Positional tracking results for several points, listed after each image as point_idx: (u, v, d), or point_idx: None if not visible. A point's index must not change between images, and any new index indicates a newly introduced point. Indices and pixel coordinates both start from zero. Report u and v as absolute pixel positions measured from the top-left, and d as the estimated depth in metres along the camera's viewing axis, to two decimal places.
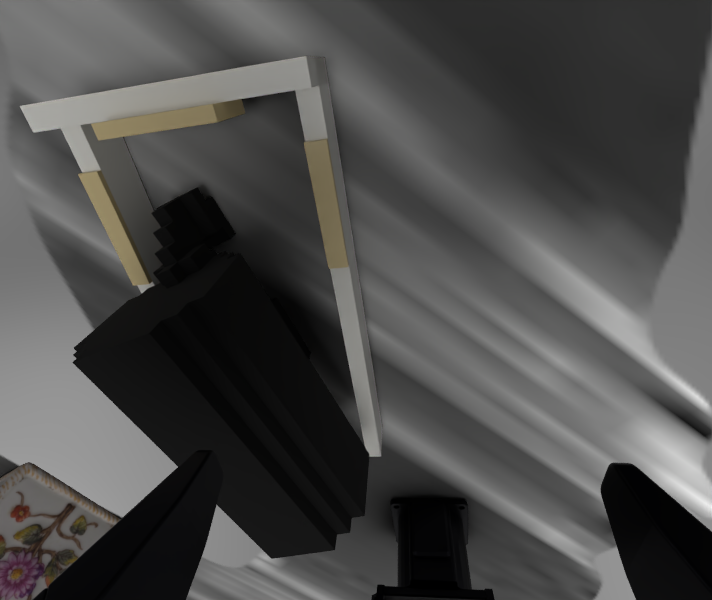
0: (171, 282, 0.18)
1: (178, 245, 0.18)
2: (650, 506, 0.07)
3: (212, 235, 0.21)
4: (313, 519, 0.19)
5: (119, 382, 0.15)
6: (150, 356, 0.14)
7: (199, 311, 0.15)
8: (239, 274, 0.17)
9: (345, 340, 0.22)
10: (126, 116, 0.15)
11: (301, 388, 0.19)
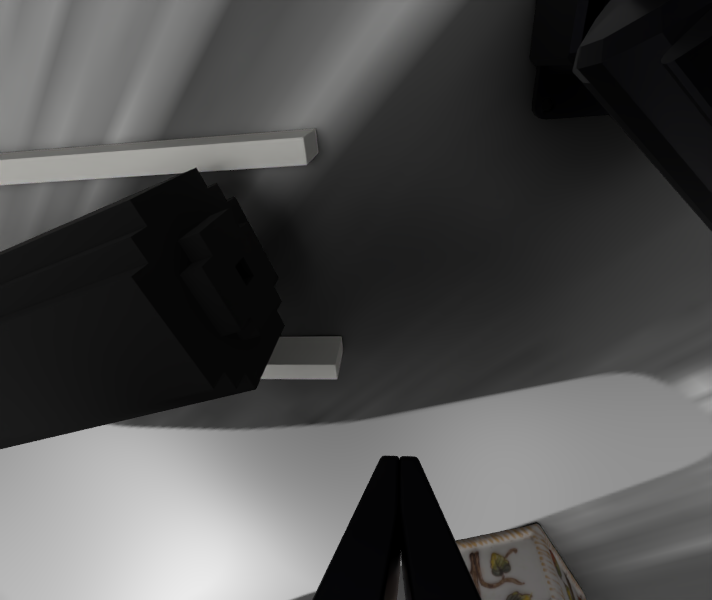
0: None
1: None
2: (406, 495, 0.08)
3: None
4: (64, 298, 0.10)
5: None
6: None
7: None
8: None
9: (68, 178, 0.16)
10: None
11: None
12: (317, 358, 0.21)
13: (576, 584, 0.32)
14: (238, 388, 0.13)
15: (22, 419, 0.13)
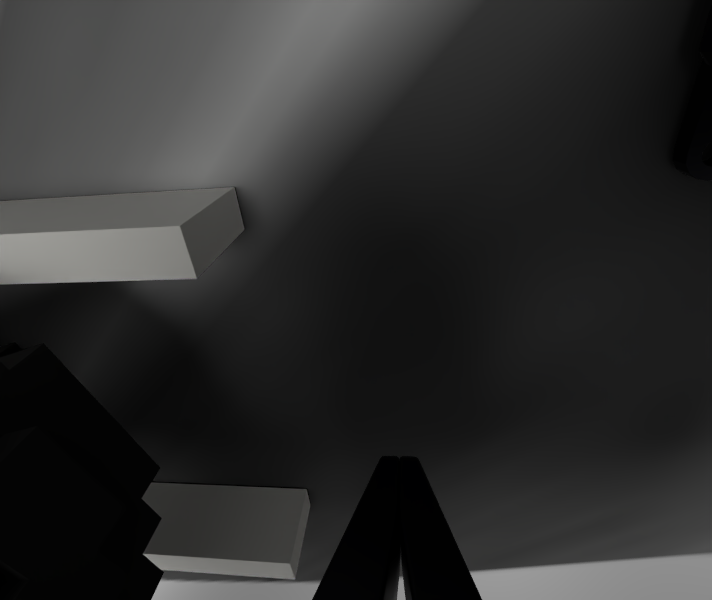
0: None
1: None
2: (406, 495, 0.08)
3: None
4: None
5: None
6: None
7: None
8: None
9: None
10: None
11: None
12: (262, 544, 0.13)
13: None
14: None
15: None
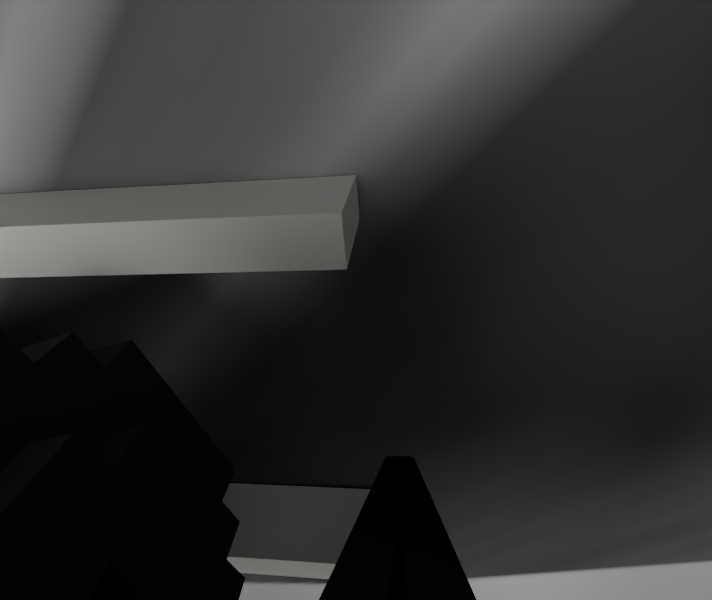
0: None
1: None
2: (402, 495, 0.08)
3: None
4: None
5: None
6: None
7: None
8: None
9: None
10: None
11: None
12: (343, 546, 0.12)
13: None
14: None
15: None
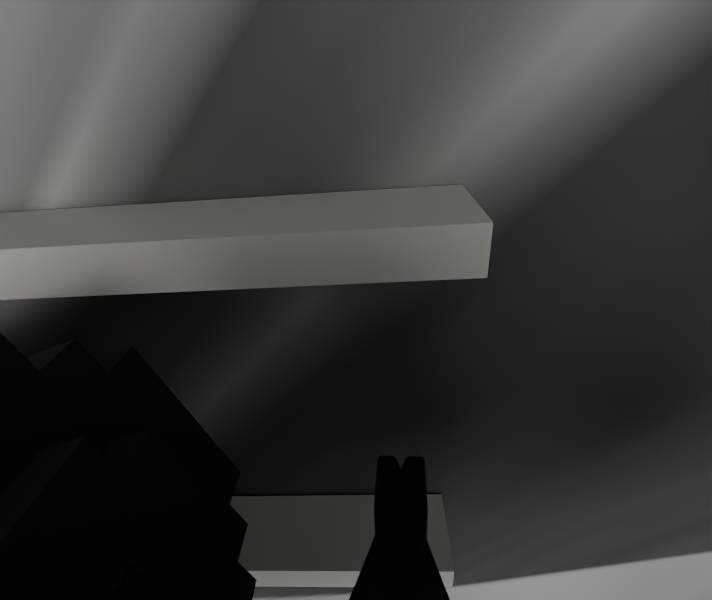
0: None
1: None
2: (381, 494, 0.08)
3: None
4: None
5: None
6: None
7: None
8: None
9: None
10: None
11: None
12: None
13: None
14: None
15: None
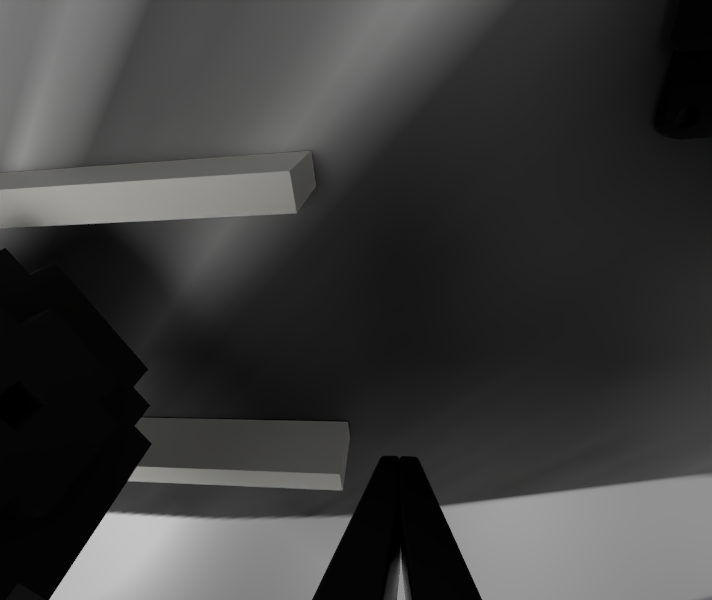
0: None
1: None
2: (406, 495, 0.08)
3: None
4: None
5: None
6: None
7: None
8: None
9: None
10: None
11: None
12: (315, 461, 0.15)
13: None
14: (20, 598, 0.08)
15: None
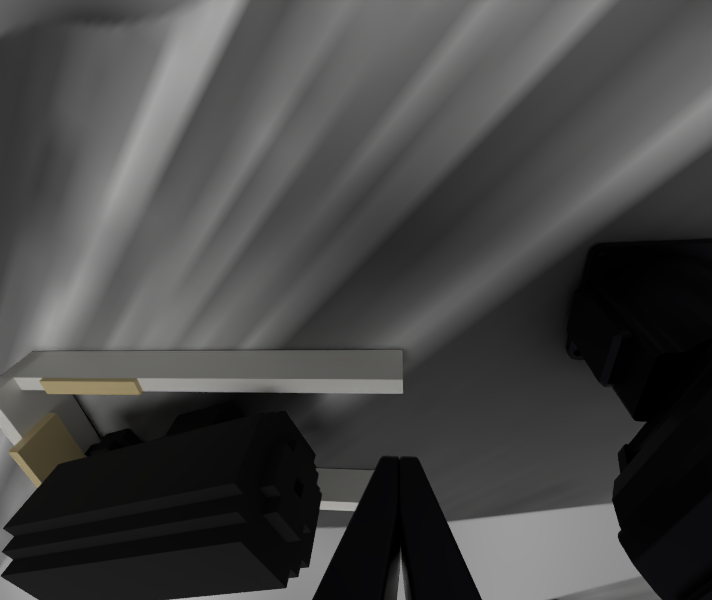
0: None
1: None
2: (406, 495, 0.08)
3: (124, 446, 0.28)
4: (194, 542, 0.16)
5: (60, 599, 0.20)
6: (21, 580, 0.20)
7: (17, 532, 0.20)
8: (52, 477, 0.22)
9: (220, 391, 0.22)
10: None
11: (119, 475, 0.20)
12: None
13: None
14: None
15: (152, 594, 0.19)
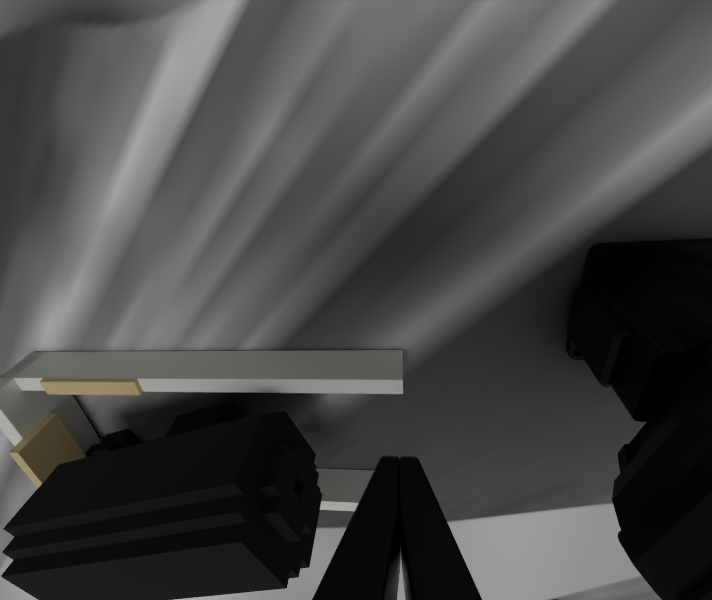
0: None
1: None
2: (406, 495, 0.08)
3: (124, 446, 0.28)
4: (194, 543, 0.16)
5: (61, 599, 0.20)
6: (22, 581, 0.20)
7: (17, 533, 0.20)
8: (52, 477, 0.22)
9: (220, 391, 0.22)
10: None
11: (120, 476, 0.20)
12: None
13: None
14: None
15: (152, 594, 0.19)
